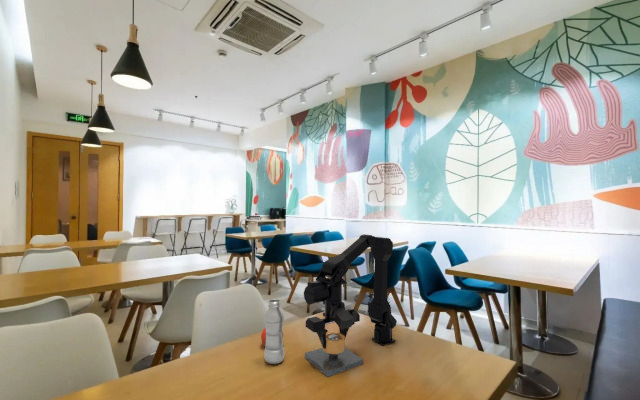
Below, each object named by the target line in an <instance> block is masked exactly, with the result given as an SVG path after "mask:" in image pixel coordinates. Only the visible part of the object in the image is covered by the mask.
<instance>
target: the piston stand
mask: <svg viewBox="0 0 640 400" xmlns="http://www.w3.org/2000/svg"><path fill="white" fill-rule="evenodd" d="M329 340H338V336H337V335H334V334H332V335H329ZM304 358H305V359H306V360H307V361H308V362H310V363H311V364H312V365H313V366H314V367H315V368H317V370H319V371H320V372H321V373H322V374H324V375H325V376H326V377H327V378H329V377H332V376H334V375H336V374H340V373H342V372H345V371H348V370H350V369H353V368H357V367H359V366H362V365H363V364H364V359H363V358H362V357H360V356H359V355H357V354H356V353H354V352H352V351H351V350H349V349H348V348H346V347H345V348H344V352H342V353H339V354H329V353H326V352H325V351H324V350H323V347H319V348H317V349H314V350H311V351H308V352H305V353H304Z"/></svg>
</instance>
